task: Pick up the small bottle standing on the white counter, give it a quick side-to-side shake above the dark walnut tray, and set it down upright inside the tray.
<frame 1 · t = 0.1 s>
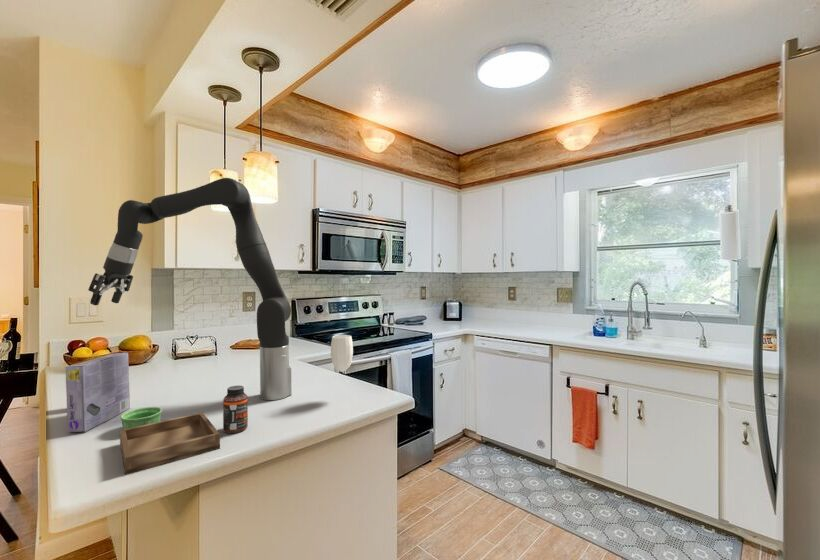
hand: (104, 303, 126), 31 cm above the counter, tool tilted 20°, fingers open, 8 cm apart
cake pan box: (102, 420, 107), on the counter
cup: (342, 399, 124), on the counter
supplement bottle: (235, 430, 100), on the counter
ramekin: (142, 429, 101), on the counter
walnut tray: (169, 446, 90), on the counter
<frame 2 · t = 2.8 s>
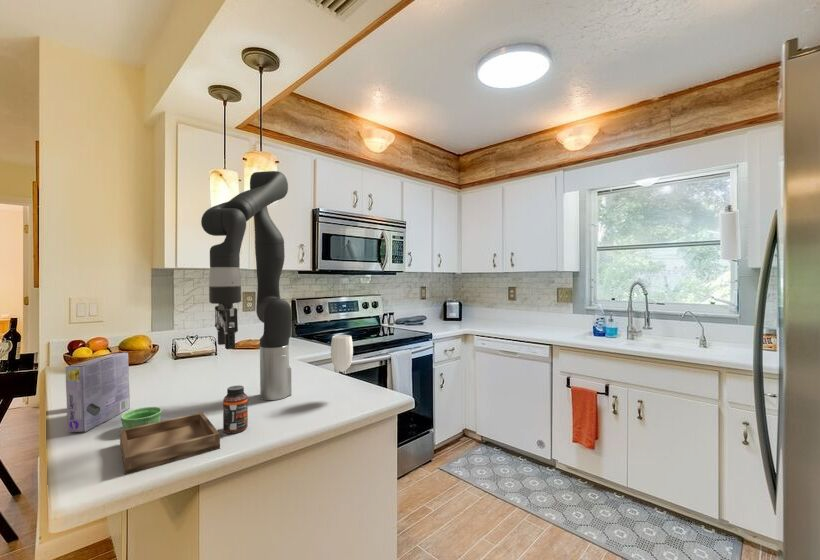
hand: (226, 346, 99), 22 cm above the counter, tool pointing down, fingers open, 8 cm apart
nothing on the counter moved.
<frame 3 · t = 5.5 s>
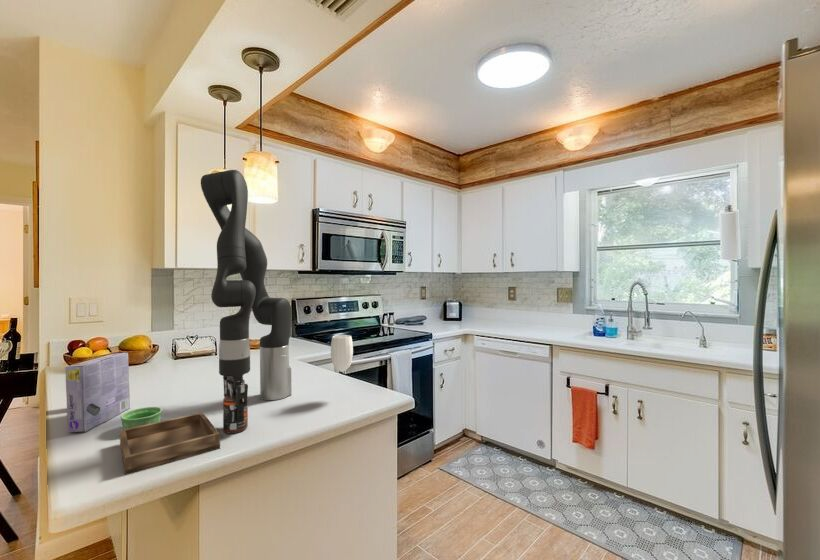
hand: (235, 417, 100), 3 cm above the counter, tool pointing down, fingers closed on supplement bottle, 6 cm apart
supplement bottle: (235, 430, 100), on the counter, touching gripper
everything else where it was.
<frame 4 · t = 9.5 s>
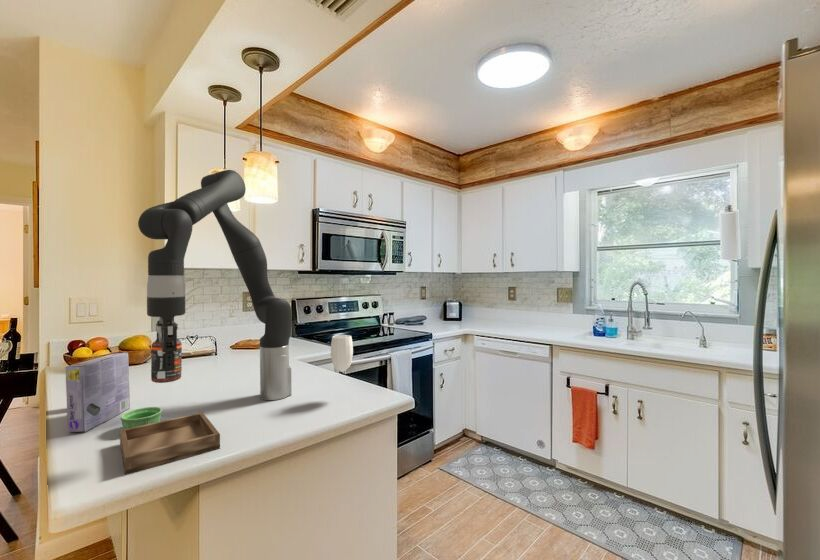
hand: (166, 366, 88), 20 cm above the counter, tool pointing down, fingers closed on supplement bottle, 6 cm apart
supplement bottle: (166, 381, 88), point 17 cm above the counter, touching gripper
everything else where it was.
when the fingers open (5 cm above the counter, at t = 13.5 s): supplement bottle drops 1 cm, resting on walnut tray.
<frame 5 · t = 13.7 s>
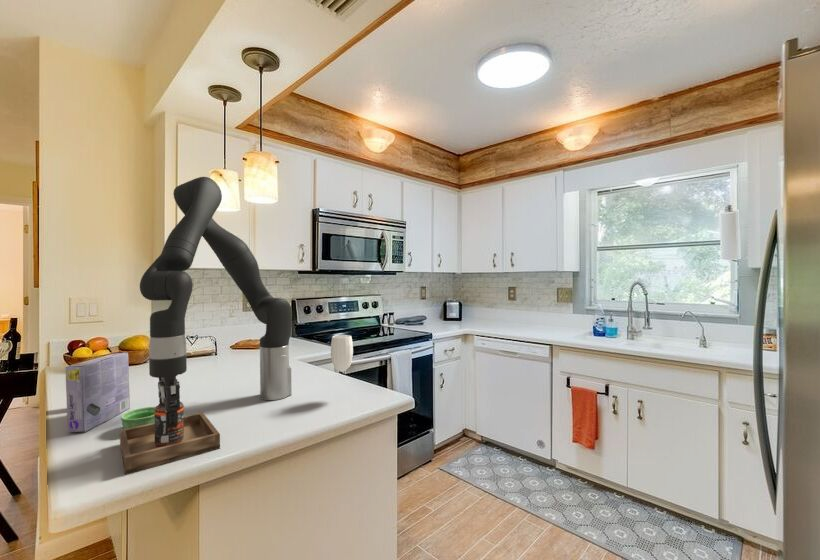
hand: (169, 422, 90), 6 cm above the counter, tool pointing down, fingers open, 7 cm apart
supplement bottle: (169, 442, 91), point 1 cm above the counter, touching walnut tray
everything else where it was.
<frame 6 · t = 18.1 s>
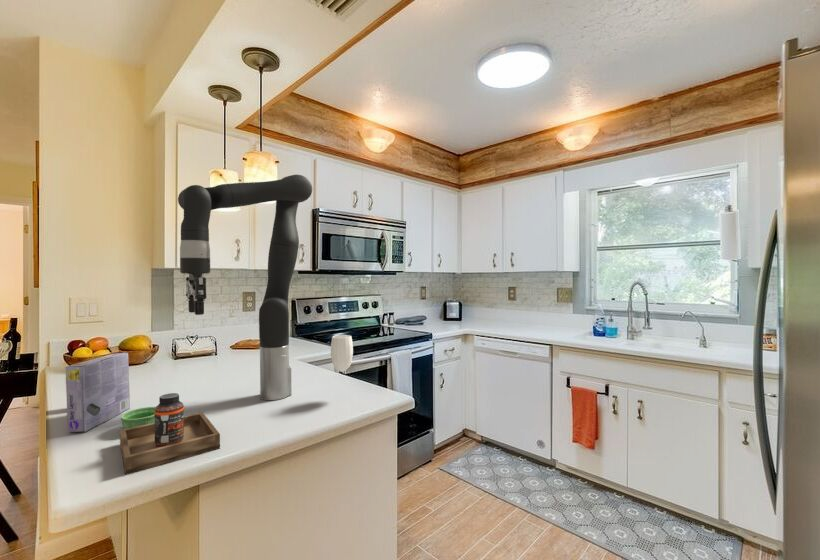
hand: (196, 313, 108), 30 cm above the counter, tool pointing down, fingers open, 8 cm apart
nothing on the counter moved.
at the end: supplement bottle inside the target area on the walnut tray (0.1 cm from its centre), point 0.8 cm above the walnut tray's base; supplement bottle tilted 0°; the gripper is holding nothing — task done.
